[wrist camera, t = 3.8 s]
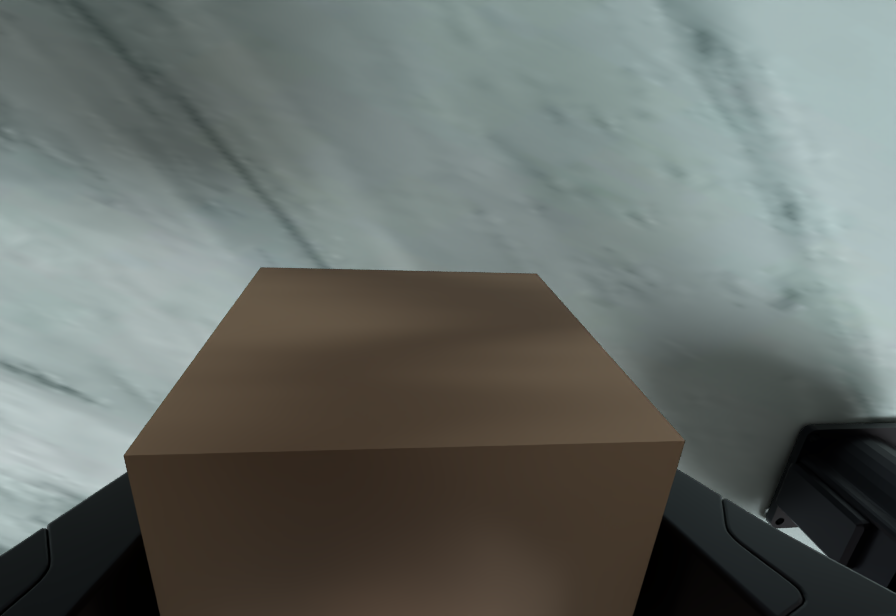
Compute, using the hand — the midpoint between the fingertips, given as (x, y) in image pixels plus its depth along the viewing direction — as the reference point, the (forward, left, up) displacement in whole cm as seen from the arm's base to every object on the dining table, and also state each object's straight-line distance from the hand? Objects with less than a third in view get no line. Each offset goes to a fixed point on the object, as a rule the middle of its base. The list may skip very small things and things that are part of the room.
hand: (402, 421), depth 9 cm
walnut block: (0, 0, -1) cm, 1 cm away
